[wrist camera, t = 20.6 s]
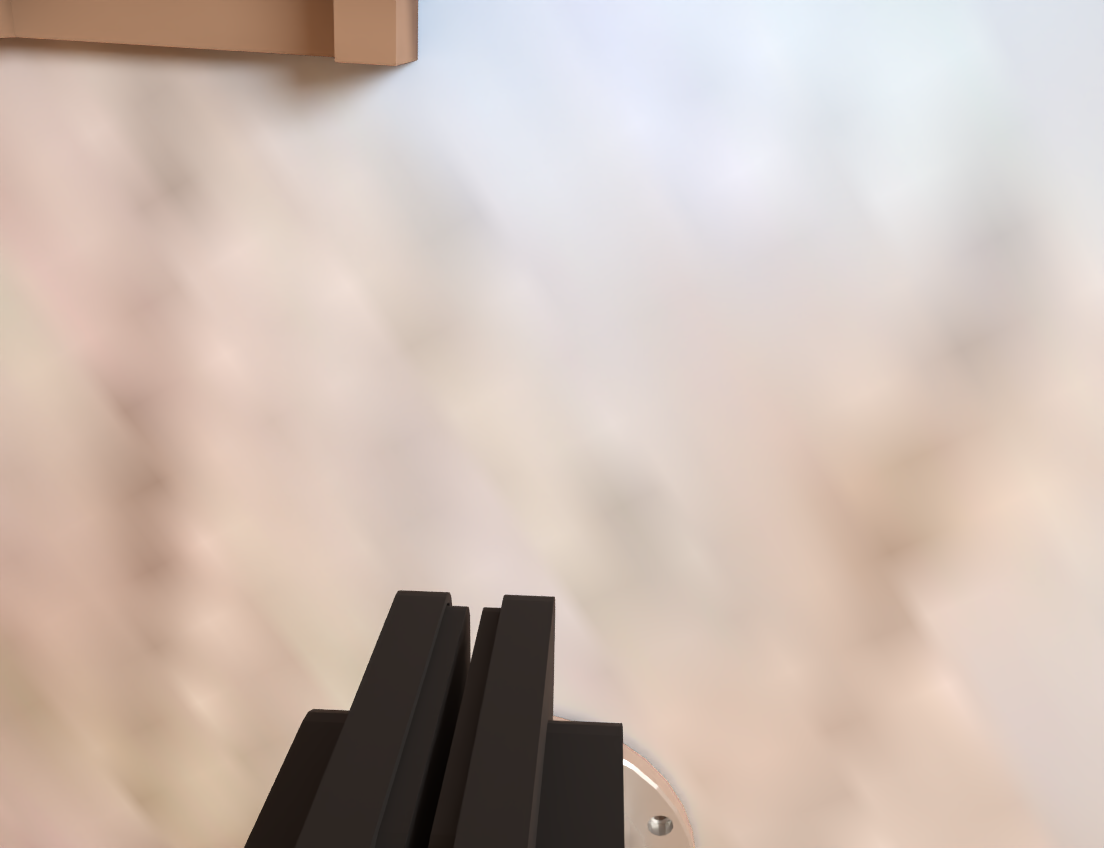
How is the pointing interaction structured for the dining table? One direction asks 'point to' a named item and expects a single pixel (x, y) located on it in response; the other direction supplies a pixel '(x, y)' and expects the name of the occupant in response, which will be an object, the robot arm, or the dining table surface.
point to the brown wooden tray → (229, 25)
